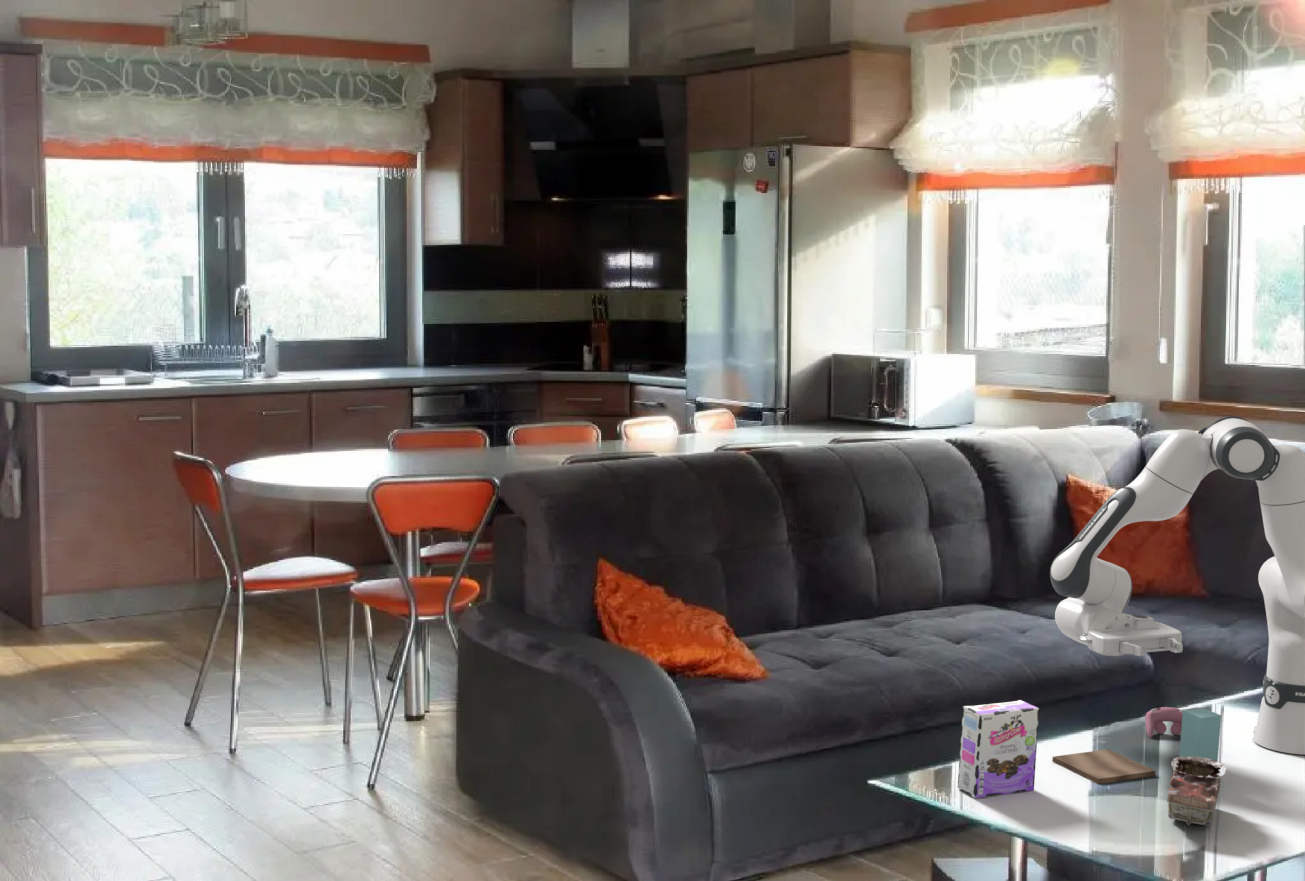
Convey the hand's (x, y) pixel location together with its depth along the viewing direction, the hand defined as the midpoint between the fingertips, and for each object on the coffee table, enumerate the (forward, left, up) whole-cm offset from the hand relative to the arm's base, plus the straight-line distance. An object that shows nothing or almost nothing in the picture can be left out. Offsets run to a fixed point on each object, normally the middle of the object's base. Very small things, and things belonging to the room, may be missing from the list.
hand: (1161, 650), depth 333 cm
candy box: (+40, +2, -23) cm, 46 cm away
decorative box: (+14, +29, -24) cm, 40 cm away
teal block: (0, +12, -23) cm, 26 cm away
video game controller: (-16, -13, -24) cm, 31 cm away
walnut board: (+12, -1, -23) cm, 26 cm away
